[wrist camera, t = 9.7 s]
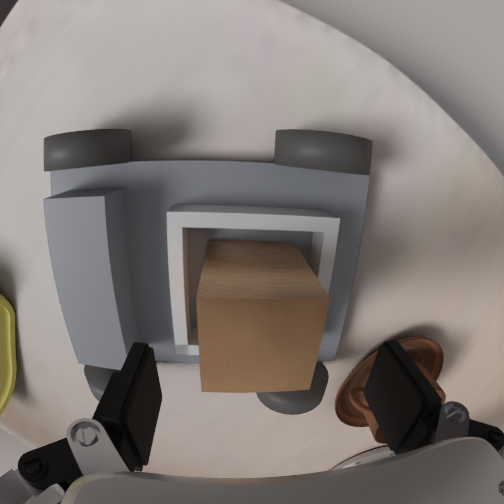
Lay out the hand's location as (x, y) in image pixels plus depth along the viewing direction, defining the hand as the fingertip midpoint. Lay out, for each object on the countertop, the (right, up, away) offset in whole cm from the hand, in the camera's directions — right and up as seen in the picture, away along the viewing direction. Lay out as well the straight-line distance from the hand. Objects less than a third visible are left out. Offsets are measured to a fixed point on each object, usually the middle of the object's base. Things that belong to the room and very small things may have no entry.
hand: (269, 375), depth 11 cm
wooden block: (-1, +3, +7) cm, 8 cm away
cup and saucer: (+13, -7, +14) cm, 20 cm away
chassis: (-4, +4, +8) cm, 10 cm away
